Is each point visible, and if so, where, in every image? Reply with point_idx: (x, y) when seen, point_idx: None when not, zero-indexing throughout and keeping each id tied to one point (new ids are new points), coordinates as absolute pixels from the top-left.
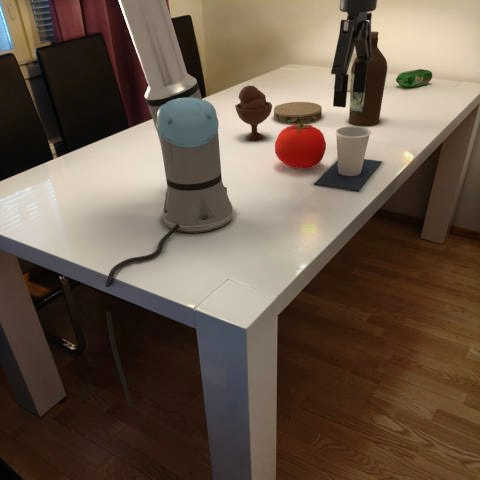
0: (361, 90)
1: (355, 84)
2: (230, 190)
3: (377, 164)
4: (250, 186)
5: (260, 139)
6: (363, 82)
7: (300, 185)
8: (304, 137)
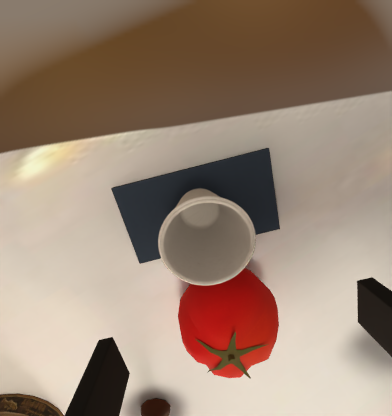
0: (113, 354)
1: (116, 404)
2: (353, 308)
3: (133, 186)
4: (328, 297)
5: (156, 399)
6: (96, 390)
7: (290, 243)
8: (261, 320)
